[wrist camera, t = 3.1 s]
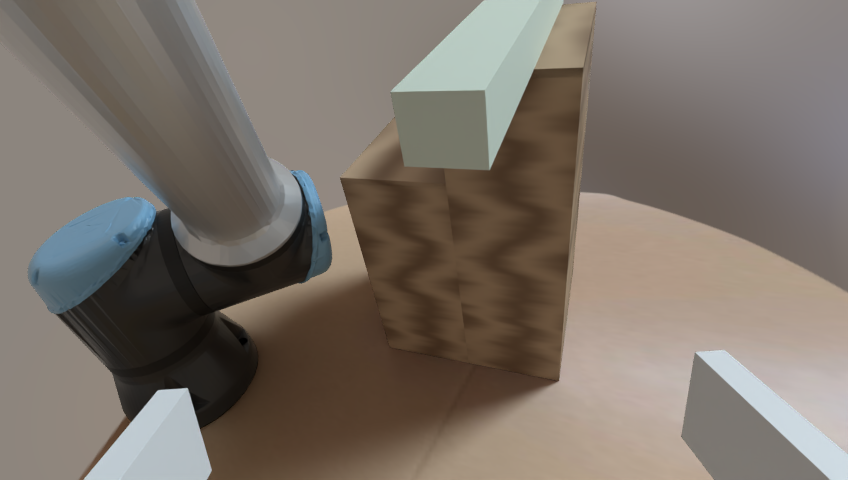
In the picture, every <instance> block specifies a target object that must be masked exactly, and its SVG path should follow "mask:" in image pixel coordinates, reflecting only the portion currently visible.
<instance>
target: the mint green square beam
mask: <svg viewBox="0 0 848 480" xmlns="http://www.w3.org/2000/svg"><path fill="white" fill-rule="evenodd" d="M562 4H563V0H484V1H483V2H482V3H481V4H480V5H479V6H478V7H477V8H476V9H475V10H474V11H473V12H472V13H471V14H470V15H468V17H466V19H465V20H463V22H461V23H460V24H459V25H458V26H457V27H456V28H455V29H454V30H453V31H452V32H451V33H450V34H449V35H448V36H447V37H446V38H445V39H444V40H443V41H442V42H441V43H440V44H439V45H438V46H437V47H436V48H435V49H434V50H433V51H432V52H431V53H430V54H429V55H428V56H427V57H426V58H424V59H423V60H422V62H420V63H419V64H418V66H416V67H415V68H414V69H413V70H412V71H411V72H410V73H409V74H408V75H407V76H406V77H405V78H404V79H403V80H402V81H401V82H400V83H399V84H398V85H397V86H396V87H395V88H394V89H393V90H392V91H391V92H390V93H391V98H392V102H393V109H394V114H395V119H396V125H397V130H398V135H399V141H400V146H401V151H402V156H403V162H404V166H405V167H427V168H450V169H472V170H490V168H491V166H492V164H493V161H494V159H495V157H496V155H497V152H498V150H499V148H500V145H501V143H502V141H503V139H504V136H505V134H506V132H507V129H508V127H509V125H510V123H511V120H512V118H513V116H514V114H515V111H516V109H517V107H518V104H519V102H520V100H521V98H522V95H523V93H524V91H525V88H526V86H527V84H528V82H529V79H530V77H531V75H532V73H533V70H534V68H535V66H536V63H537V61H538V59H539V57H540V54H541V52H542V50H543V48H544V45H545V43H546V41H547V38H548V36H549V34H550V32H551V29H552V27H553V25H554V22H555V20H556V18H557V16H558V13H559V11H560V9H561V7H562Z"/></svg>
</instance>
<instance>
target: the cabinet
mask: <svg viewBox="0 0 848 480" xmlns="http://www.w3.org/2000/svg"><path fill="white" fill-rule="evenodd" d="M595 14H596V2H589V3H576V4H564V5H562V7H561V9H560V11H559V13H558V16H557V18H556V20H555V22H554V25H553V27H552V29H551V32H550V34H549V36H548V38H547V41H546V43H545V45H544V48H543V50H542V52H541V54H540V57H539V59H538V61H537V63H536V66H535V68H534V70H533V73H532V75H531V77H530V79H529V82H528V84H527V86H526V88H525V91H524V93H523V95H522V98H521V100H520V102H519V104H518V107H517V109H516V111H515V114H514V116H513V118H512V120H511V123H510V125H509V127H508V129H507V132H506V134H505V136H504V139H503V141H502V143H501V145H500V148H499V150H498V152H497V155H496V157H495V159H494V161H493V164H492V166H491V168H490V170H472V169H450V168H427V167H405V166H404V162H403V156H402V151H401V146H400V141H399V135H398V130H397V125H396V119H395V117H394V118H393V119H392V121H391V122H390V123H389V124H388V125H387V126H386V127H385V128H384V129H383V131H382V132H381V133H380V134H379V135H378V136H377V137H376V138H375V139H374V141H373V142H372V143H371V144H370V145H369V146H368V147H367V148H366V149H365V150H364V151H363V153H362V154H361V155H360V156H359V157H358V158H357V159H356V160H355V162H354V163H353V164H352V165H351V166H350V167H349V168H348V169H347V170H346V172H345V173H344V174H343V175H342V176H341V177H340V180H341V183H342V186H343V190H344V193H345V196H346V200H347V203H348V207H349V210H350V214H351V217H352V220H353V224H354V227H355V231H356V234H357V238H358V241H359V244H360V248H361V251H362V255H363V258H364V261H365V265H366V268H367V272H368V275H369V278H370V282H371V285H372V289H373V292H374V295H375V299H376V302H377V306H378V309H379V313H380V316H381V319H382V323H383V326H384V330H385V333H386V336H387V340H388V343H389V347H391V348H396V349H401V350H406V351H411V352H416V353H421V354H426V355H431V356H436V357H441V358H446V359H451V360H456V361H461V362H466V363H471V364H476V365H481V366H486V367H491V368H496V369H501V370H506V371H511V372H516V373H521V374H526V375H531V376H536V377H541V378H546V379H551V380H556V381H559V376H560V368H561V360H562V352H563V344H564V336H565V328H566V321H567V313H568V305H569V297H570V289H571V281H572V273H573V263H574V252H575V241H576V229H577V218H578V207H579V195H580V184H581V173H582V172H581V171H582V161H583V150H584V139H585V127H586V115H587V104H588V93H589V82H590V70H591V58H592V48H593V36H594V25H595Z"/></svg>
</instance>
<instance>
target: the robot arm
mask: <svg viewBox="0 0 848 480" xmlns="http://www.w3.org/2000/svg"><path fill="white" fill-rule="evenodd" d="M0 43H1V44H2V45H3V46H4V47H5V48H6V49H7V50H8V51H9V52H10V53H11V54H12V55H13V56H14V57H15V58H16V59H17V60H18V61H19V62H20V63H21V64H22V65H23V66H24V67H25V68H26V69H27V70H28V71H29V72H30V73H31V74H32V75H33V76H34V77H35V78H36V79H38V80H39V82H40V83H41V84H42V85H44V86H45V87H46V88H47V89H48V90H49V91H50V92H51V93H52V94H53V95H54V96H55V97H56V98H57V99H58V100H59V101H60V102H61V103H62V104H63V105H64V106H65V107H66V108H67V109H68V110H69V111H70V112H71V113H72V114H73V115H74V116H75V117H76V118H77V119H78V120H79V121H80V122H81V123H82V124H83V125H85V127H86V128H87V129H88V130H89V131H91V133H92V134H93V135H95V136H96V137H97V138H98V139H99V140H100V141H101V142H102V143H103V144H104V145H105V146H106V147H107V148H108V149H109V150H110V151H111V152H112V153H113V154H114V155H115V156H116V157H117V158H118V159H119V160H120V161H121V162H122V163H123V164H124V165H125V166H126V167H127V168H128V169H129V170H130V171H131V172H132V173H133V174H134V175H135V176H136V177H137V178H138V179H139V180H140V181H142V183H144V184H145V185H146V186H147V187H148V188H149V189H150V190H151V191H152V192H153V193H154V194H155V195H156V196H157V197H158V198H159V199H160V200H161V201H162V202H163V203H164V204H165V205H166V206H167V207H168V209H164V210H162V211H156V209H155V207H154V205H153V204H151V203H149V202H148V201H147V200H145V199H143V198H140V197H134V198H130V197H126V198H122V199H117V200H114V201H111V202H108V203H106V204H103V205H101V206H98V207H96V208H94V209H92V210H90V211H88V212H86V213H84V214H82V215H81V216H79V217H77V218H76V219H74V220H72V221H71V222H69V223H68V224H67V225H65V226H63V227H62V228H61V229H60V230H58V231H57V232H56V233H54V234H53V235H52V236H51V237H50V238H49V239H48V240H46V241H45V243H43V245H42V246H41V247H40V248H39V249H38V250H37V252H36V253H35V254H34V256H33V258H32V259H31V261H30V264H29V267H28V279H29V282H30V284H31V285H32V286H33V288H34V289H35V291H36V292H37V293H38V294H39V296H40V297H41V298H42V300H43V301H44V302H45V304H46V305H47V308H48V310H49V311H50V312H51V313H54V314H56V315H57V316H58V318H59V319H61V321H62V322H63V323H64V324H65V325H66V326H67V327H69V329H70V330H71V331H72V332H73V333H74V334H75V335H76V336H77V337H78V338H79V339H80V340H81V341H82V342H83V343H84V344H85V345H86V346H87V347H88V349H89V350H90V351H91V352H92V353H93V354H94V355H95V356H96V357H97V358H98V359H99V360H100V361H101V362H102V363H103V364H104V365H105V366H106V367H107V368H108V369H109V370H110V371H111V372H112V374H113V377H114V381H115V384H116V387H117V391H118V395H119V398H120V401H121V405H122V408H123V411H124V413H125V414H126V416H127V417H128V419H129V420H130V421H131V423H130V424H129V426H128V427H127V428H126V429H125V430H124V432H123V433H122V434H121V435H120V436H119V438H118V439H117V440H116V441H115V442H114V444H113V445H112V446H111V447H110V448H109V450H108V451H107V452H106V453H105V454H104V456H103V457H102V458H101V459H100V460H99V462H98V463H97V464H96V465H95V466H94V468H93V469H92V470H91V471H90V472H89V474H88V475H87V476H86V477H85V479H84V480H207V479H208V477H209V475H210V473H211V471H212V469H211V466H210V462H209V459H208V456H207V452H206V449H205V445H204V442H203V438H202V435H201V432H200V428H201V427H203V426H205V425H207V424H209V423H210V422H212V421H213V420H215V419H216V418H218V417H219V416H221V415H222V414H223V413H225V412H226V411H227V410H228V409H229V408H230V407H231V406H232V405H234V404H235V403H236V401H237V400H238V399H239V398H240V397H241V396H242V395H243V393H244V392H245V390H246V389H247V388H248V386H249V384H250V383H251V381H252V379H253V376H254V374H255V371H256V368H257V362H258V354H257V349H256V346H255V344H254V343H253V341H252V339H251V337H250V336H249V334H248V333H247V332H246V330H245V329H244V328H243V327H241V326H240V325H239V324H237V323H236V322H234V321H233V320H231V319H230V318H229V317H227V316H226V315H224V314H223V313H221V312H220V311H218V310H221V309H224V308H227V307H230V306H233V305H236V304H239V303H242V302H244V301H247V300H250V299H253V298H256V297H259V296H262V295H265V294H268V293H270V292H273V291H276V290H279V289H282V288H285V287H288V286H291V285H294V284H296V283H304V282H306V281H308V280H309V279H310V278H312V277H315V276H317V275H320V274H322V273H324V272H326V271H327V270H328V269H329V267H330V265H331V262H332V249H331V243H330V238H329V235H328V233H327V225H326V220H325V216H324V213H323V209H322V206H321V203H320V200H319V197H318V194H317V191H316V189H315V186H314V184H313V182H312V180H311V178H310V176H309V175H308V174H307V173H306V172H304V171H302V170H298V171H293V170H292V171H289V170H288V169H287V168H285V166H284V165H282V164H281V163H279V162H278V161H275V160H274V159H272V158H269V157H267V155H266V153H265V151H264V148H263V146H262V144H261V142H260V140H259V138H258V135H257V133H256V132H255V129H254V127H253V125H252V122H251V121H250V118H249V116H248V114H247V112H246V110H245V107H244V105H243V103H242V101H241V99H240V97H239V94H238V92H237V90H236V88H235V86H234V84H233V82H232V79H231V77H230V75H229V73H228V71H227V69H226V67H225V65H224V62H223V60H222V58H221V56H220V54H219V51H218V49H217V47H216V45H215V43H214V41H213V39H212V36H211V34H210V32H209V30H208V28H207V26H206V23H205V21H204V19H203V17H202V15H201V13H200V10H199V8H198V6H197V4H196V2H195V0H0ZM681 437H682V438H683V440H684V441H685V442H686V444H687V445H688V446H689V447H690V449H691V450H692V451H693V453H694V454H695V455H696V457H697V458H698V459H699V461H700V462H701V463H702V464H703V466H704V467H705V468H706V470H707V471H708V472H709V474H710V475H711V476H712V477H713V479H714V480H848V454H847V453H845V452H844V451H843V450H842V449H841V448H840V447H838V446H837V445H836V444H835V443H834V442H832V441H831V440H830V439H829V438H828V437H827V436H825V435H824V434H823V433H822V432H821V431H819V430H818V429H817V428H816V427H815V426H814V425H812V424H811V423H810V422H809V421H808V420H806V419H805V418H804V417H803V416H802V415H801V414H799V413H798V412H797V411H796V410H795V409H794V408H792V407H791V406H790V405H789V404H788V403H786V402H785V401H784V400H783V399H782V398H781V397H779V396H778V395H777V394H776V393H775V392H773V391H772V390H771V389H770V388H769V387H768V386H766V385H765V384H764V383H763V382H762V381H760V380H759V379H758V378H757V377H756V376H755V375H753V374H752V373H751V372H750V371H749V370H747V369H746V368H745V367H744V366H743V365H742V364H740V363H739V362H738V361H737V360H736V359H734V358H733V357H732V356H731V355H730V354H729V353H727V352H726V351H725V350H718V351H704V352H695V355H694V361H693V367H692V373H691V380H690V386H689V392H688V398H687V404H686V410H685V417H684V423H683V429H682V435H681Z"/></svg>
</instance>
